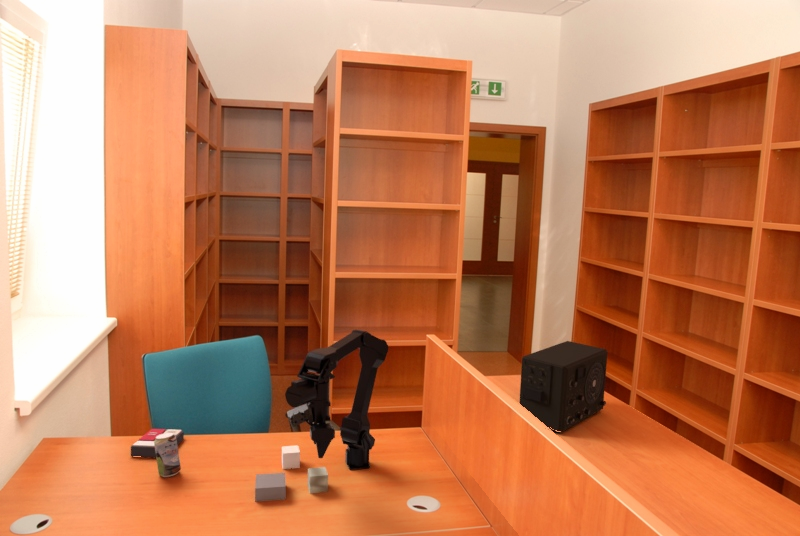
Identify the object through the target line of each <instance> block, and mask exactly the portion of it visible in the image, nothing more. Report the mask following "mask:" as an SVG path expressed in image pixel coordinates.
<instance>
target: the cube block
mask: <svg viewBox="0 0 800 536" xmlns="http://www.w3.org/2000/svg"><path fill="white" fill-rule="evenodd" d="M307 489H308V492H309V494H317V493H327V492H329V474H328V470H327V468H326V466H320V467H310V468H307Z"/></svg>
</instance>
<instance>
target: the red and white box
mask: <svg viewBox="0 0 800 536" xmlns="http://www.w3.org/2000/svg"><path fill="white" fill-rule="evenodd" d="M168 432H172V433H174V435H175V436H176V439H177V446H178V447H179V445H180V444H181V443H182V441H183V440H184V437H185V434H184V433H185V432H184V430H182V429H171V428H170V429H169V428H168V429H166V428H151V429H150V430H149V431H147V432H146V433H145V434H144V435H142V436H141V437H140V438H139V439H138V440H137V441H136V442H134V443H133V444H132V445H131V446H130V457H131V456H141V457H155V458H154V459H156V452H155V445H154V441H155V439H156V436H158V435H160V434H163V433H168Z"/></svg>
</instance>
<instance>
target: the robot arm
mask: <svg viewBox="0 0 800 536" xmlns="http://www.w3.org/2000/svg"><path fill="white" fill-rule="evenodd" d="M358 349H359V351H358V357H359V360H360V365H361V367H360V372H359V375H358V381H357V385H356V389H355V393H354V397H353V403H352V407H351V409H350V413H349V414H347V416H343V418H342V421H341V426H340V428H339V430H340V433H339V434H340V435H339V437H341V440H342V445H346V446H347V448H345V454H344V455H345V457H344V458H345V464H346V466H348V469H349V470H359V469H360V470H361V469H369V468H371V464H370V450H372V449H373V447H375V442H376V439H375V438H374V437H373V435H372V434H371V433H370V429H371V424H370V420H369V418H368V417H369V416H368V414H369V409H370V404H371V399H372V394H373V390H374V388H375V387H374V385H375V382H376V377H377V373H378V370H379V367H381V365H382V364H383V363H384V362H385V361H386V357H387V355H388V353H389V345H388V343H387V341H386V340H385V339H383V338H379V337H377V336H374V335H373V334H371V333H370V332H368V331H367V330H361V329H353V330H352V331H351V332H350V333H348V334H347V335H346V336H344V337H342V338H341V339H339V340H337V341H336V342H334V343H332V344H331V345H329V346H327V347H322V348H321V347H320V348H319V347H318V348H316V349H313V350H310V351H309V352H308V353H307V354H306V357H305V358H304V361H303V363H302V365H301V367H300V369H299V371H298V373H297V379H296V380H292V381H291V382H290V386H288V388H287V389H286V391H285V393H284V397H285V400H286V402H287V403H286V404H288V405H289V406H290V407H291V408H292V409H289V410H288V411H287V412H286V414H287V418H288V420H289V423H290V425H291V427H292V428H296V427H298V425H301V424H304V423H305V422H306V423H307V424H308V425H309V426H310V427H309V436H310V439H311V440H312V442H313V444H314V445H315V446H316V452H317V456H318V459H323V458H324V456H325V453H326V452H327V450H328V448H329V446H330V444H331V443H332V441H333V440H334V439H335V438H336V431H335V427H334V426H333V424H331V423H330V421H331V416H330V407H332V406H331V404H332V403H331V400H330V383H331V381H330V380H333V379H335V377H336V376H335V375H334V374H333V373H332V372H333V371H334V370H335V369H337V367H338V363H339V362H340V360H342V359H344V358H345V357H347V356H348V355H350V354H352V353H353V352H354V351H356V350H358ZM310 372H311V373H310ZM327 422H328V423H327Z"/></svg>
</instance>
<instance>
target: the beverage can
mask: <svg viewBox="0 0 800 536" xmlns="http://www.w3.org/2000/svg"><path fill="white" fill-rule="evenodd" d="M154 445H155V452H156V458H155V459H156V463H157V470H158V475H159V476H161V477H162V478H170V477H173V476H175V475H177V474H179V472H180V471H181V469H182V467H181V461H180V460H181V459H180V454H179V448H178V447H179V445H178V446H177V439H176V436H175V435H174V433H172V432H168V433H163V434H160V435H158V436H156V439H155V441H154Z"/></svg>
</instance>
